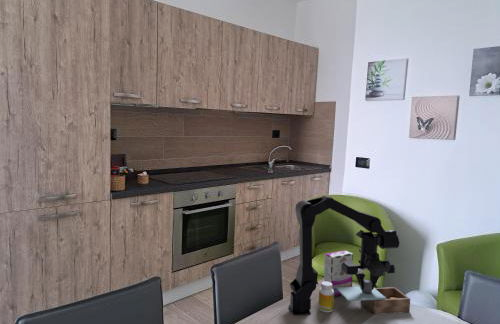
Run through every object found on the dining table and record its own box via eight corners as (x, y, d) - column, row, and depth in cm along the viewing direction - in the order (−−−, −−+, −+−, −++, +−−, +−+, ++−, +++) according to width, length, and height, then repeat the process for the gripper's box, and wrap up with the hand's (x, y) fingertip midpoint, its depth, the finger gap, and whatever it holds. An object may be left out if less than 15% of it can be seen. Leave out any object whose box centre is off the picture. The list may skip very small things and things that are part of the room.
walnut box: (373, 314, 126) (374, 300, 125) (360, 301, 135) (361, 288, 135) (409, 312, 128) (410, 298, 127) (394, 299, 138) (394, 287, 137)
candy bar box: (343, 288, 147) (345, 249, 146) (352, 292, 143) (354, 253, 141) (322, 292, 142) (324, 253, 141) (330, 297, 138) (332, 257, 136)
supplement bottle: (333, 313, 125) (334, 287, 125) (318, 311, 126) (319, 285, 126) (333, 306, 131) (334, 281, 130) (318, 304, 132) (319, 279, 131)
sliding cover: (348, 301, 124) (348, 288, 123) (336, 289, 133) (337, 277, 133) (385, 299, 126) (386, 286, 126) (371, 287, 136) (372, 275, 135)
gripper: (355, 257, 119) (353, 301, 121) (405, 255, 122) (402, 298, 124) (341, 246, 130) (339, 287, 131) (387, 245, 133) (385, 285, 135)
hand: (366, 289), depth 130 cm, fingers closed on sliding cover, 3 cm apart
